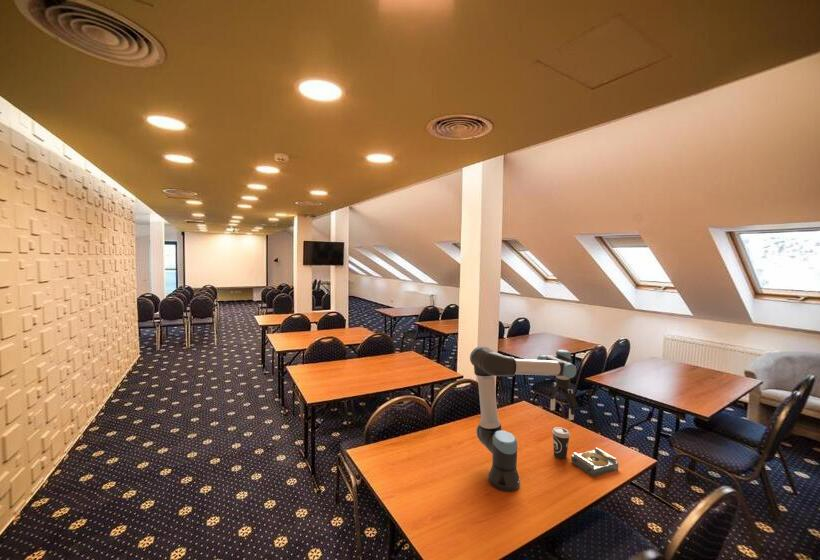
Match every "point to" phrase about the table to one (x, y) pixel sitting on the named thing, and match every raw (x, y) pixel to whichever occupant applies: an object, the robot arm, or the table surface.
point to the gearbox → (595, 462)
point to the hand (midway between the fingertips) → (561, 414)
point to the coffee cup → (560, 442)
